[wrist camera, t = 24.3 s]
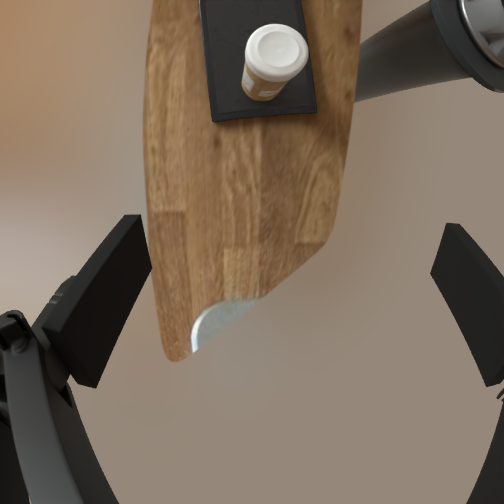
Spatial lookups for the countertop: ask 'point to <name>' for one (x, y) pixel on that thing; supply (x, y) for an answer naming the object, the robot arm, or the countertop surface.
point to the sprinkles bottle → (272, 60)
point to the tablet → (233, 59)
